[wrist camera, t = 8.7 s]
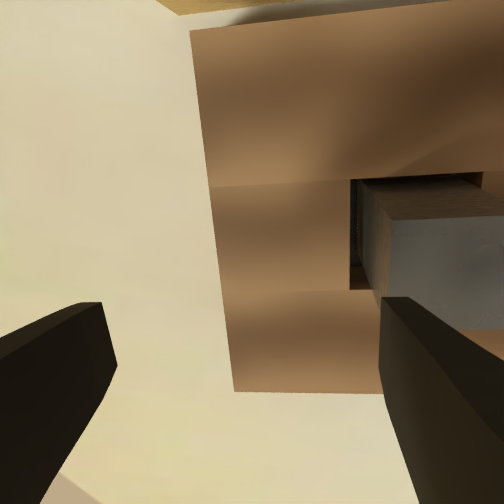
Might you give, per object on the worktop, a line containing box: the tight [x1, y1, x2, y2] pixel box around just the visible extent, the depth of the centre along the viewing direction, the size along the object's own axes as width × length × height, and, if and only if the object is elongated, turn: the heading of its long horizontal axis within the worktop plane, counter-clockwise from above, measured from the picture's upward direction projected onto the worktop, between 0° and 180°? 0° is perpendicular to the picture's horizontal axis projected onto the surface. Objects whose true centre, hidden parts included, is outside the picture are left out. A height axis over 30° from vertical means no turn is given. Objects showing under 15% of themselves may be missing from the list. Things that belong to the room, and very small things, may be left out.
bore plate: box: [190, 0, 504, 394], centre depth 17 cm, size 16×16×2 cm
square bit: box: [357, 173, 504, 330], centre depth 14 cm, size 4×4×7 cm
